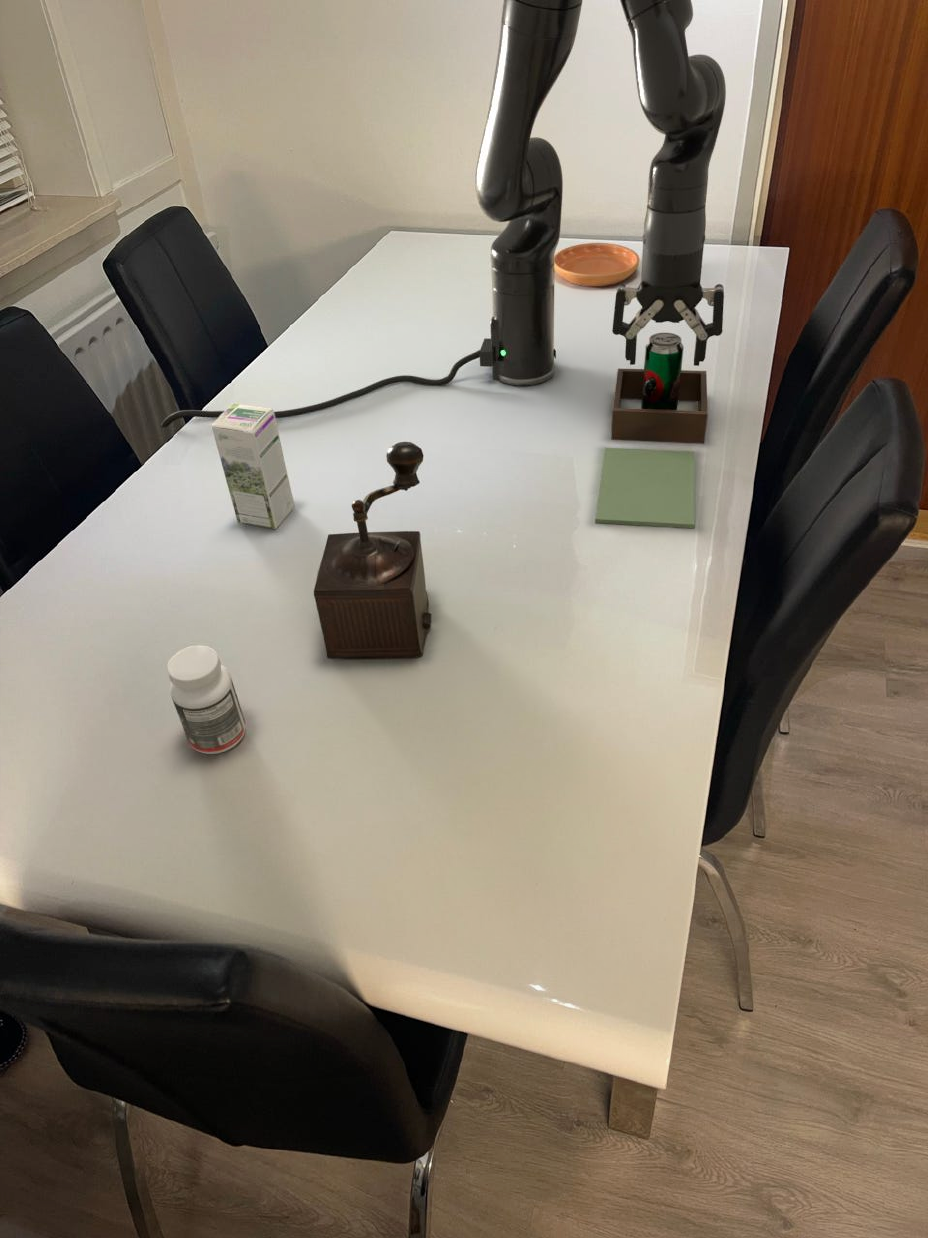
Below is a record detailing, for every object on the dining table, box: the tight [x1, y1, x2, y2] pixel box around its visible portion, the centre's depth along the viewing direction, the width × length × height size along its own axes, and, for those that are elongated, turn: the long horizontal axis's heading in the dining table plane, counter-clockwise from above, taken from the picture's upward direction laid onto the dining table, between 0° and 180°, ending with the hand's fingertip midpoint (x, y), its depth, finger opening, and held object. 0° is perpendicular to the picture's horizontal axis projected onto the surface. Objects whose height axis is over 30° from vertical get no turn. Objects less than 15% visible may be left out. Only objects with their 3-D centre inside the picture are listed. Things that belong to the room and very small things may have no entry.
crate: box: [610, 367, 708, 444], centre depth 132 cm, size 13×13×4 cm
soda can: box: [640, 332, 684, 410], centre depth 130 cm, size 5×5×12 cm
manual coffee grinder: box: [313, 441, 433, 660], centre depth 99 cm, size 16×11×18 cm
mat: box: [594, 447, 696, 529], centre depth 121 cm, size 12×17×1 cm
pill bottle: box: [166, 645, 247, 755], centre depth 89 cm, size 6×6×10 cm
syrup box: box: [211, 403, 296, 530], centre depth 116 cm, size 6×6×14 cm
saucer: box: [554, 242, 640, 287], centre depth 175 cm, size 16×16×3 cm
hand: (664, 362), depth 128 cm, fingers open, 8 cm apart
